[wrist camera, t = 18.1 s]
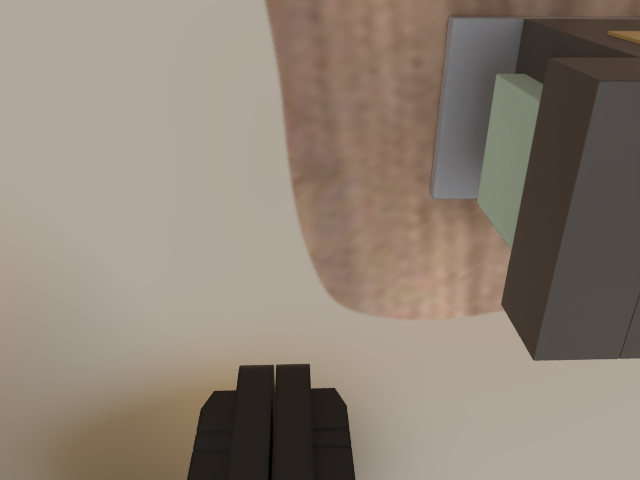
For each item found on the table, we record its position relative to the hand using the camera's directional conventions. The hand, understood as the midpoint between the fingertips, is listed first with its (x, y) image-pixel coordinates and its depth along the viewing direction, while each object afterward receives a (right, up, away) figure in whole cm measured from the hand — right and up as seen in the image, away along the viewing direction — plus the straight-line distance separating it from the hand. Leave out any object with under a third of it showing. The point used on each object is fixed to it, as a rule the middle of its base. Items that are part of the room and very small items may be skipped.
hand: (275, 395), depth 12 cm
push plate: (+10, +9, +18) cm, 22 cm away
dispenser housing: (+14, +11, +23) cm, 29 cm away
